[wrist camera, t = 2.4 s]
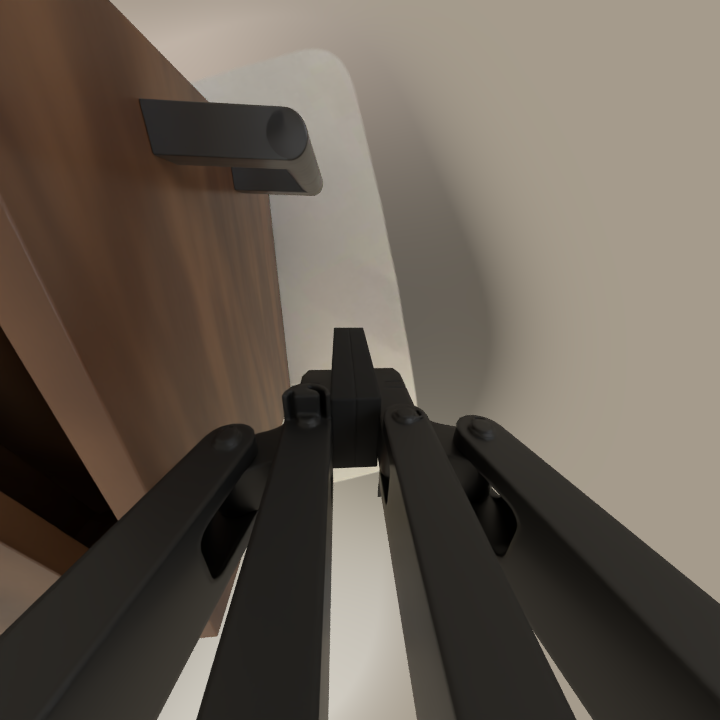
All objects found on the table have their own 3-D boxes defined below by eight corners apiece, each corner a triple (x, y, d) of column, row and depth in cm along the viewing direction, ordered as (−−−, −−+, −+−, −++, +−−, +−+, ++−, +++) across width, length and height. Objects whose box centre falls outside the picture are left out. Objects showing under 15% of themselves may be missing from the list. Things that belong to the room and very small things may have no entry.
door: (326, 161, 25) (240, -335, 3) (333, 393, 36) (324, 627, 15) (248, 158, 24) (-481, -463, 3) (280, 394, 36) (189, 639, 14)
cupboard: (144, 183, 25) (-1371, -220, 3) (279, 396, 36) (186, 646, 14) (-6, 256, 26) (-1690, 358, 4) (167, 438, 38) (-71, 719, 16)
